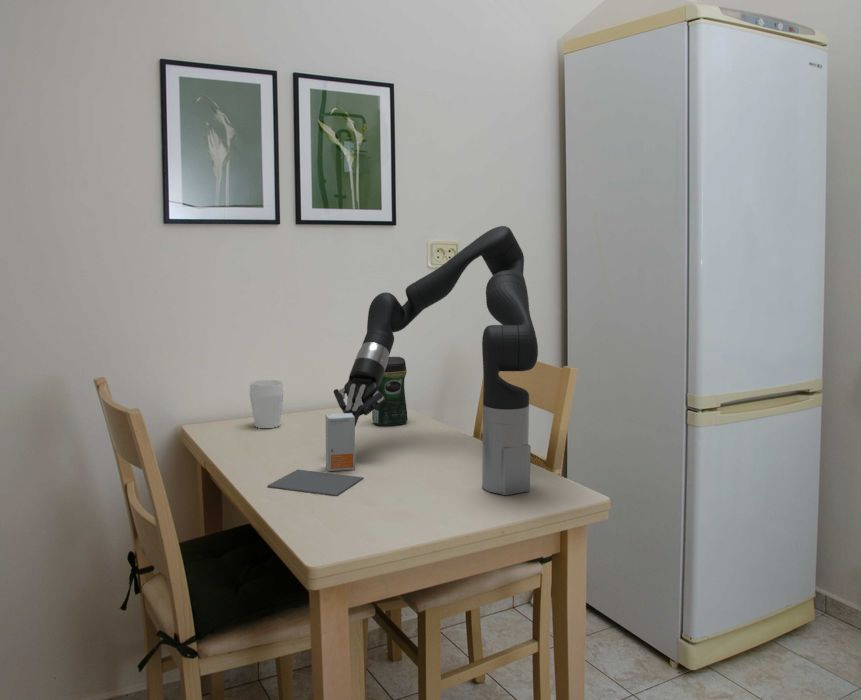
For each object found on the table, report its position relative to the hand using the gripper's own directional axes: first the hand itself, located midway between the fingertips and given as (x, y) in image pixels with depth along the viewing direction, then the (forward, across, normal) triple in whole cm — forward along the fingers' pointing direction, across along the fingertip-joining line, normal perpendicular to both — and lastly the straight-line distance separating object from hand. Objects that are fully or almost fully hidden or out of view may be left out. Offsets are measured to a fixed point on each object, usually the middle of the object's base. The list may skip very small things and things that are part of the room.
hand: (347, 427), depth 169 cm
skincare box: (+9, 0, -3) cm, 9 cm away
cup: (-11, +37, -23) cm, 45 cm away
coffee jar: (-22, +7, -34) cm, 41 cm away
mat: (+16, 0, +5) cm, 17 cm away
